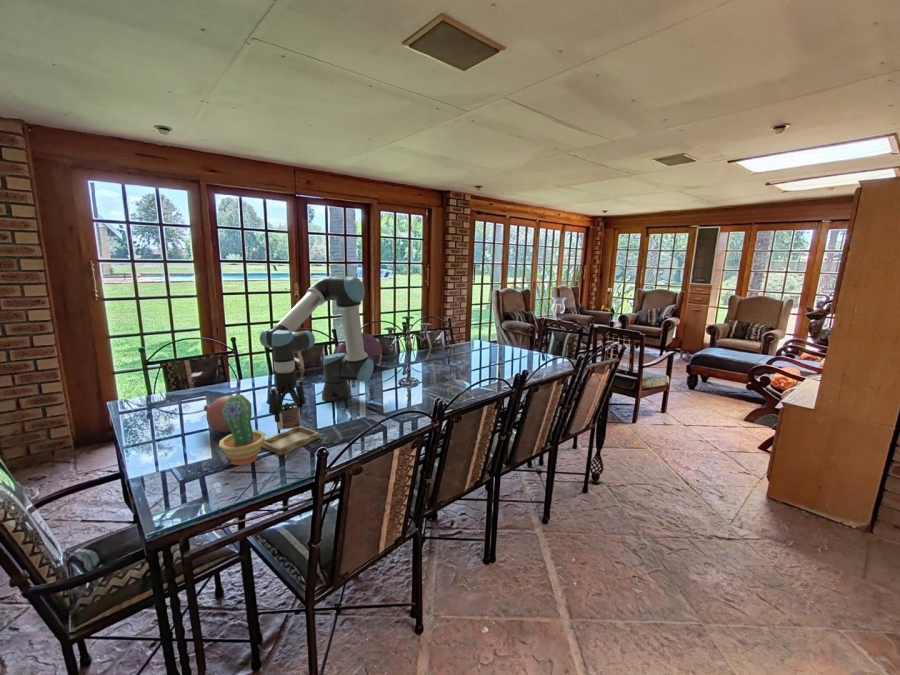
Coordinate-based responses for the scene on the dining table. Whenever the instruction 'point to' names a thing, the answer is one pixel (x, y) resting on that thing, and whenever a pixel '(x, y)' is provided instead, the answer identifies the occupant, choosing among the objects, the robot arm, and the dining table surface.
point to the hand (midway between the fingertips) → (289, 425)
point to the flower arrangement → (369, 343)
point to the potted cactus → (240, 432)
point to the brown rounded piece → (217, 415)
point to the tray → (289, 440)
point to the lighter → (290, 415)
